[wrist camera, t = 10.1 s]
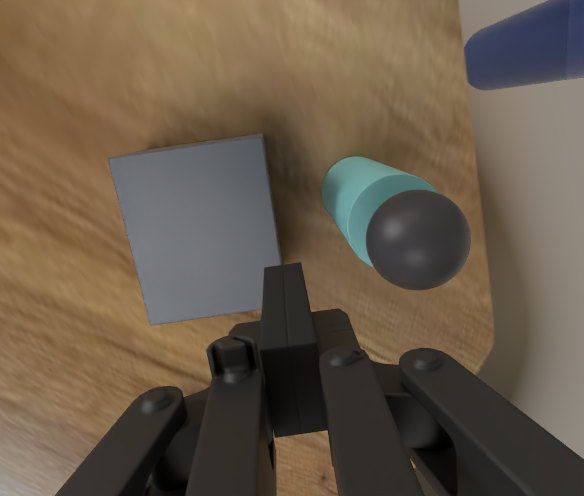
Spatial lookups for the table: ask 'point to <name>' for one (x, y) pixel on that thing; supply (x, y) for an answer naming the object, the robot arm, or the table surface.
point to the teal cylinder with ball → (397, 222)
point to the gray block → (199, 225)
